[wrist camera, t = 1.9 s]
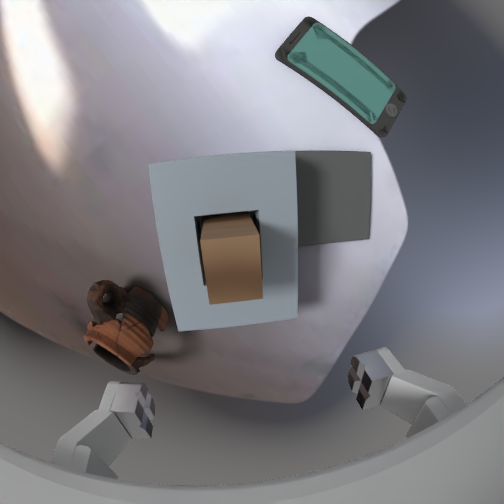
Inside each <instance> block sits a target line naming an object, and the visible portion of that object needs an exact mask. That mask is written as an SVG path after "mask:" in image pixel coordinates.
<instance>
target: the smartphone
mask: <svg viewBox="0 0 504 504" xmlns="http://www.w3.org/2000/svg"><path fill="white" fill-rule="evenodd" d="M275 58H276V59H277V60H278V61H280V62H282V63H283V64H285V65H286V66H288V67H289V68H291V69H293V70H294V71H296V72H297V73H299V74H300V75H302V76H303V77H304V78H306V79H307V80H309V81H310V82H312V83H313V84H314V85H316V86H317V87H319V88H320V89H321V90H323V91H324V92H325V93H327V94H328V95H329V96H331V97H332V98H333V99H335V100H336V101H337V102H338V103H340V104H341V105H342V106H343V107H345V108H346V109H347V110H348V111H350V112H351V113H352V114H353V115H354V116H356V117H357V118H358V119H359V120H360V121H361V122H363V123H364V124H365V125H366V126H367V127H368V128H369V129H370V130H372V131H373V132H374V133H375V134H376V135H377V136H378V137H385V136H386V135H387V134H388V132H389V130H390V129H391V127H392V125H393V123H394V122H395V120H396V118H397V116H398V114H399V113H400V111H401V109H402V107H403V105H404V103H405V102H406V99H407V98H406V95H405V93H404V92H403V91H402V90H401V89H400V88H399V87H398V86H397V85H396V84H395V83H394V82H393V81H392V80H391V79H390V78H389V77H388V76H387V75H386V74H384V73H383V72H382V71H381V70H380V69H379V68H378V67H377V66H376V65H374V64H373V63H372V62H371V61H370V60H369V59H368V58H366V57H365V56H364V55H363V54H362V53H360V52H359V51H358V50H357V49H355V48H354V47H353V46H352V45H351V44H349V43H348V42H347V41H345V40H344V39H343V38H341V37H340V36H339V35H337V34H336V33H334V32H333V31H332V30H330V29H329V28H327V27H326V26H324V25H323V24H322V23H320V22H318V21H317V20H315V19H314V18H312V17H305V18H304V19H303V21H302V22H301V23H300V24H299V25H298V26H297V27H296V29H295V30H294V31H293V32H292V33H291V34H290V36H289V37H288V38H287V39H286V40H285V42H284V43H283V44H282V45H281V46H280V48H279V49H278V50H277V51H276V53H275Z"/></svg>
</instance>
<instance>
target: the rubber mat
mask: <svg viewBox="0 0 504 504" xmlns="http://www.w3.org/2000/svg"><path fill="white" fill-rule="evenodd" d="M295 159H296V182H297V215H298V246H305V245H315V244H324V243H334V242H343V241H353V240H363V239H369V225H370V202H371V152H359V151H295Z"/></svg>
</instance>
